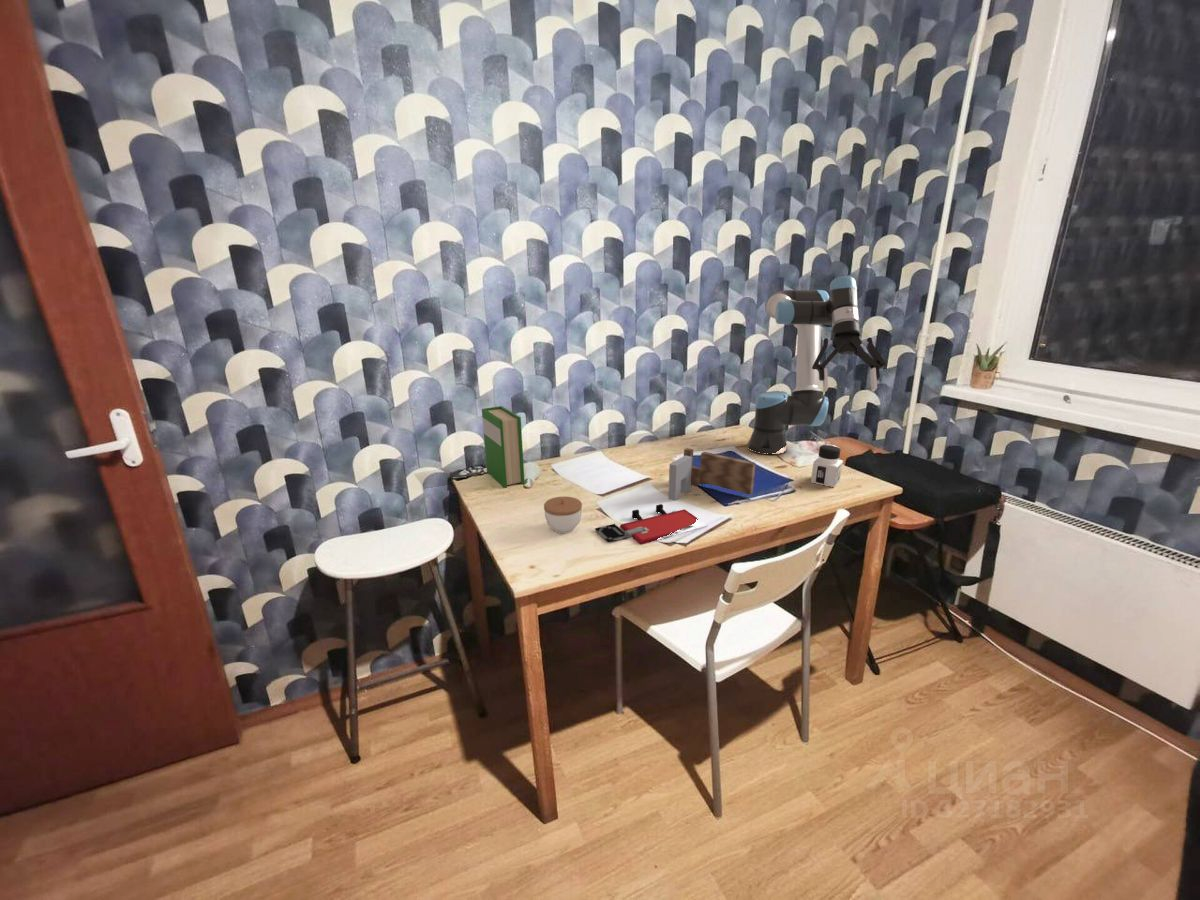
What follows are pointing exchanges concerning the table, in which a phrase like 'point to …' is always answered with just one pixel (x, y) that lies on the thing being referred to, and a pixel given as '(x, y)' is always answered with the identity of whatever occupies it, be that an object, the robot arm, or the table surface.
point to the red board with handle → (648, 526)
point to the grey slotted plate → (680, 477)
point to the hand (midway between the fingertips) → (849, 390)
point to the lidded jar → (563, 513)
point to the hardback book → (503, 445)
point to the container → (827, 466)
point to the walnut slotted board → (723, 472)
